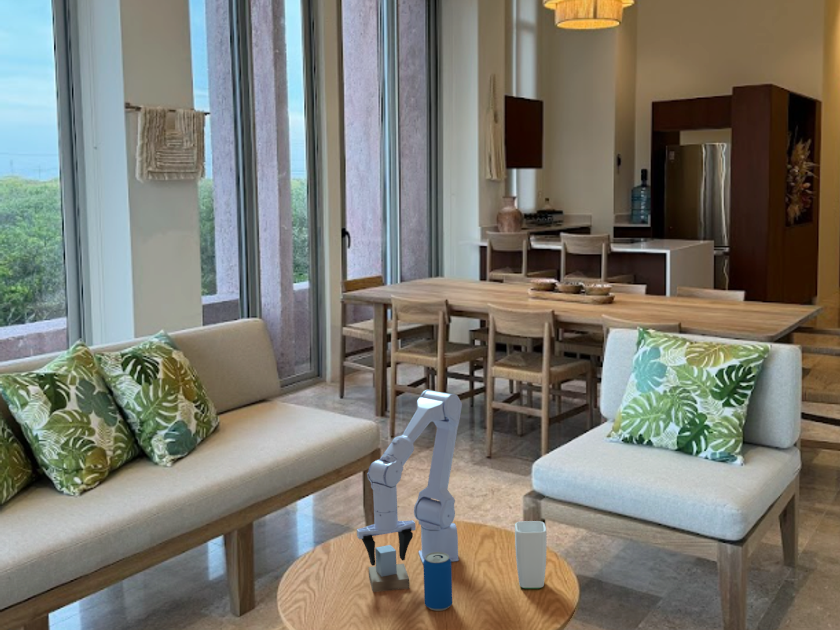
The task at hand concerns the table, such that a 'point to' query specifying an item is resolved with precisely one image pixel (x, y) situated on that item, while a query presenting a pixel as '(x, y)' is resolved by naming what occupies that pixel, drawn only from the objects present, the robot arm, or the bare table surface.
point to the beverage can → (437, 581)
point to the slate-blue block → (386, 560)
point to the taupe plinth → (389, 579)
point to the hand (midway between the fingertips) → (387, 561)
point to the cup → (530, 553)
